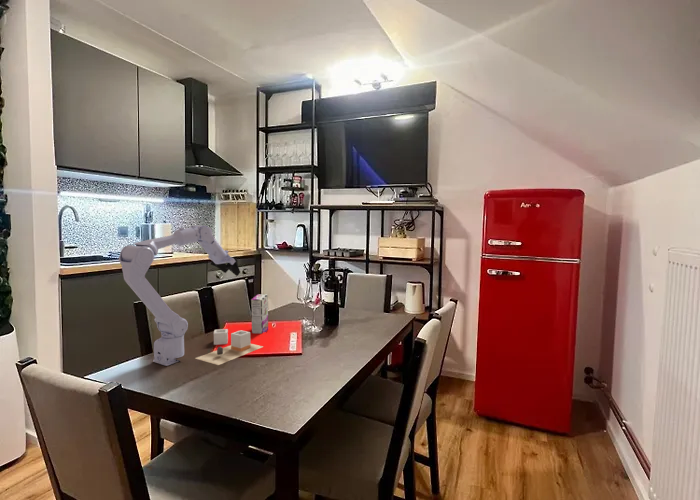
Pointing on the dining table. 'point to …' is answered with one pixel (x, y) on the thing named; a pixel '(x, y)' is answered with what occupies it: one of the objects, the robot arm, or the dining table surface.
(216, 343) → the loose sleeve
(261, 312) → the candy bar box
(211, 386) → the dining table surface
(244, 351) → the pin board
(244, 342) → the seated sleeve
